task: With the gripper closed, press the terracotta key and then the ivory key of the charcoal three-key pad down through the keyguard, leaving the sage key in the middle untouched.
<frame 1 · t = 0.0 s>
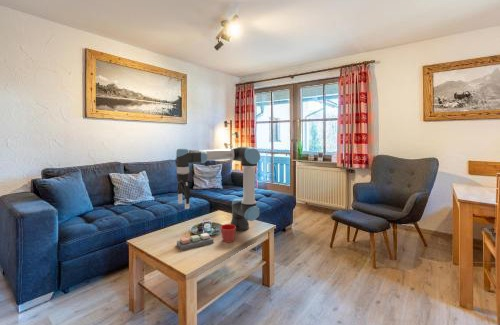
hand: (183, 206, 164), 28 cm above the table, fingers open, 13 cm apart
key sage: (195, 238, 173), point 4 cm above the table, slide at 0.0 cm
flower pot: (228, 240, 180), on the table
key terracotta: (185, 240, 169), point 4 cm above the table, slide at 0.0 cm
key ivory: (204, 236, 177), point 4 cm above the table, slide at 0.0 cm
keyguard: (195, 243, 173), on the table
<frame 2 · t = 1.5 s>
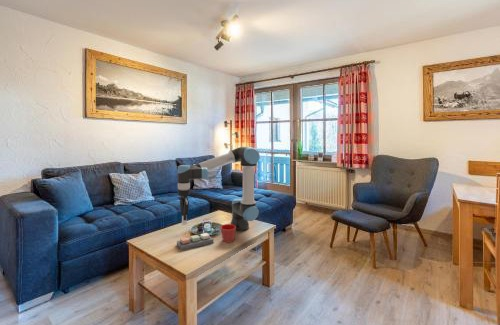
hand: (184, 224, 168), 15 cm above the table, fingers closed
nothing on the table moved.
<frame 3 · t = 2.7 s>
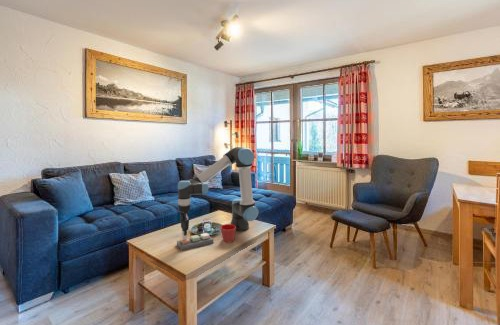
hand: (184, 239, 169), 5 cm above the table, fingers closed
key terracotta: (185, 241, 169), point 3 cm above the table, slide at 0.6 cm, touching gripper
everything else where it was.
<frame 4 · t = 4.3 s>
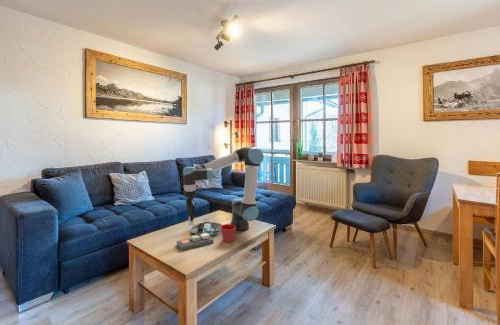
hand: (191, 225, 171), 14 cm above the table, fingers closed
key terracotta: (185, 243, 169), point 2 cm above the table, slide at 1.8 cm
everything else where it was.
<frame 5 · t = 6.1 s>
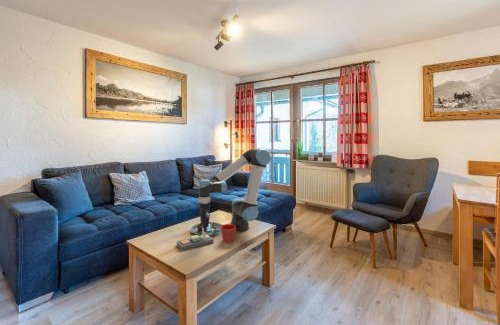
hand: (204, 235, 177), 4 cm above the table, fingers closed
key ivory: (204, 237, 177), point 3 cm above the table, slide at 1.1 cm, touching gripper
everything else where it was.
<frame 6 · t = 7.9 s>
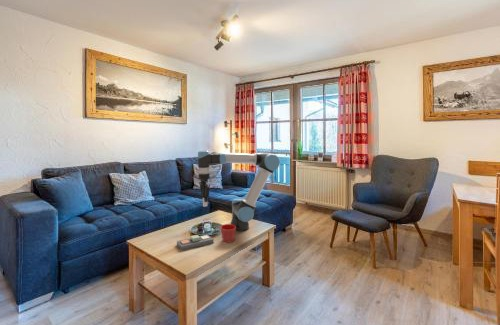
hand: (205, 206, 181), 23 cm above the table, fingers closed
key ivory: (204, 238, 177), point 2 cm above the table, slide at 1.8 cm
everything else where it was.
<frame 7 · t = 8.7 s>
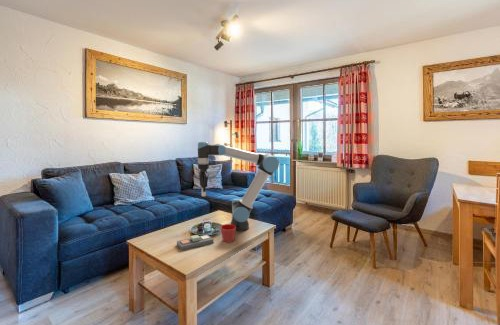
hand: (203, 195, 185), 29 cm above the table, fingers closed
nothing on the table moved.
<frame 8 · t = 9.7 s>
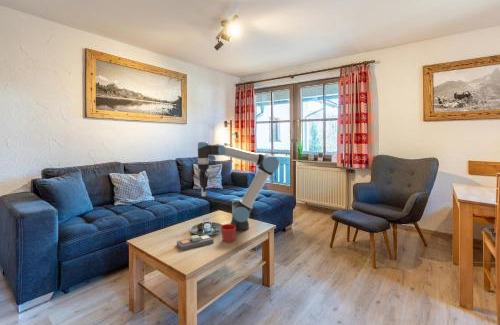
hand: (203, 195, 185), 29 cm above the table, fingers closed
nothing on the table moved.
at the end: key terracotta slide at 1.8 cm; key ivory slide at 1.8 cm; key sage slide at 0.0 cm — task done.
